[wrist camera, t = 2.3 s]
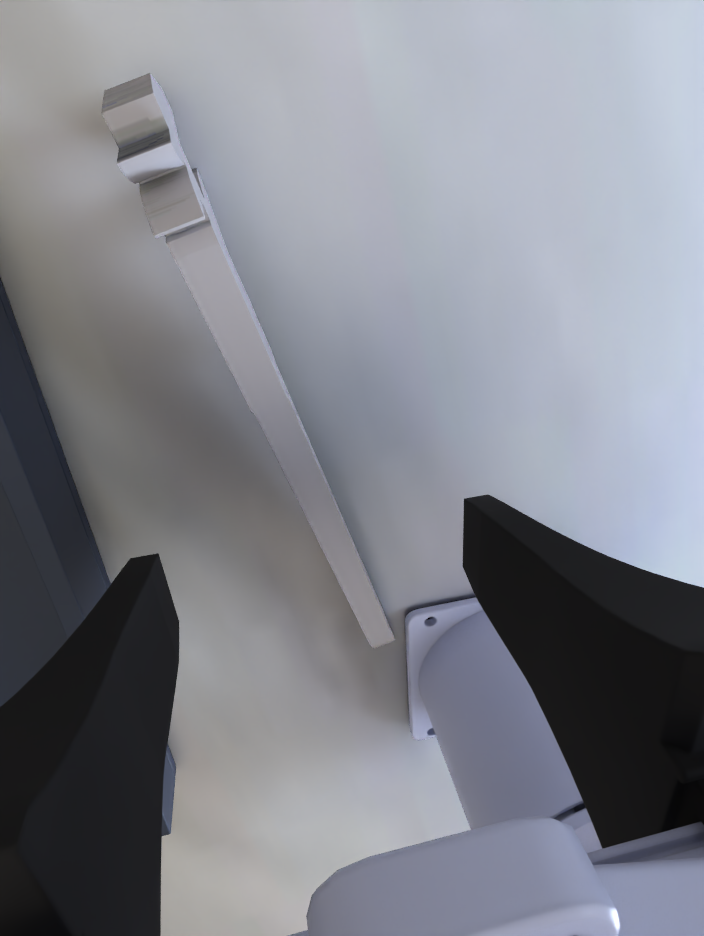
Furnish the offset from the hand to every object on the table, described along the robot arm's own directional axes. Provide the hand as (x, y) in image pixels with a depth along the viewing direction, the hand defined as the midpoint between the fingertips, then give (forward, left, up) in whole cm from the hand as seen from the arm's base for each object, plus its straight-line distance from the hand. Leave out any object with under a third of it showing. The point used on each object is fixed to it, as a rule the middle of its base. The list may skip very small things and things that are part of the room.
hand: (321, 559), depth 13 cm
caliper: (0, 0, -7) cm, 7 cm away
